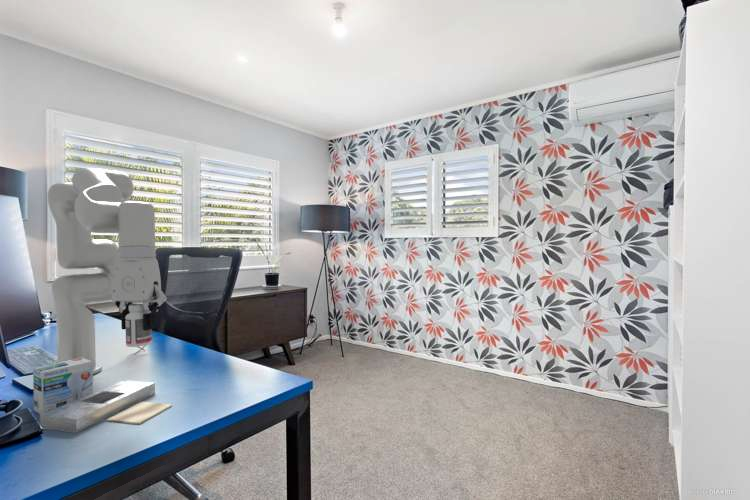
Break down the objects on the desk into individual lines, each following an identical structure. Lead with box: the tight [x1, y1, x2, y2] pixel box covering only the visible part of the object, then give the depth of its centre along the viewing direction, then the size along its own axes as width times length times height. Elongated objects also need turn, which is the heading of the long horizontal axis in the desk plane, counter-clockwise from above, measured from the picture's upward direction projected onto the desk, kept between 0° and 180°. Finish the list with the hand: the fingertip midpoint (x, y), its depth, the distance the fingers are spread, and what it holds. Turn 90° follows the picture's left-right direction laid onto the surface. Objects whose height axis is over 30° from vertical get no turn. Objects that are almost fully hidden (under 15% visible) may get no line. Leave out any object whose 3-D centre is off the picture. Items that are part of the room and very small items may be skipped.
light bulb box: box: [32, 357, 94, 415], centre depth 97 cm, size 11×7×11 cm, turn 148°
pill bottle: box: [125, 302, 153, 348], centre depth 92 cm, size 5×5×10 cm
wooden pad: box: [106, 401, 173, 425], centre depth 93 cm, size 9×10×1 cm
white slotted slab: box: [39, 379, 156, 434], centre depth 95 cm, size 10×22×3 cm, turn 168°
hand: (138, 327), depth 92 cm, fingers closed on pill bottle, 5 cm apart
